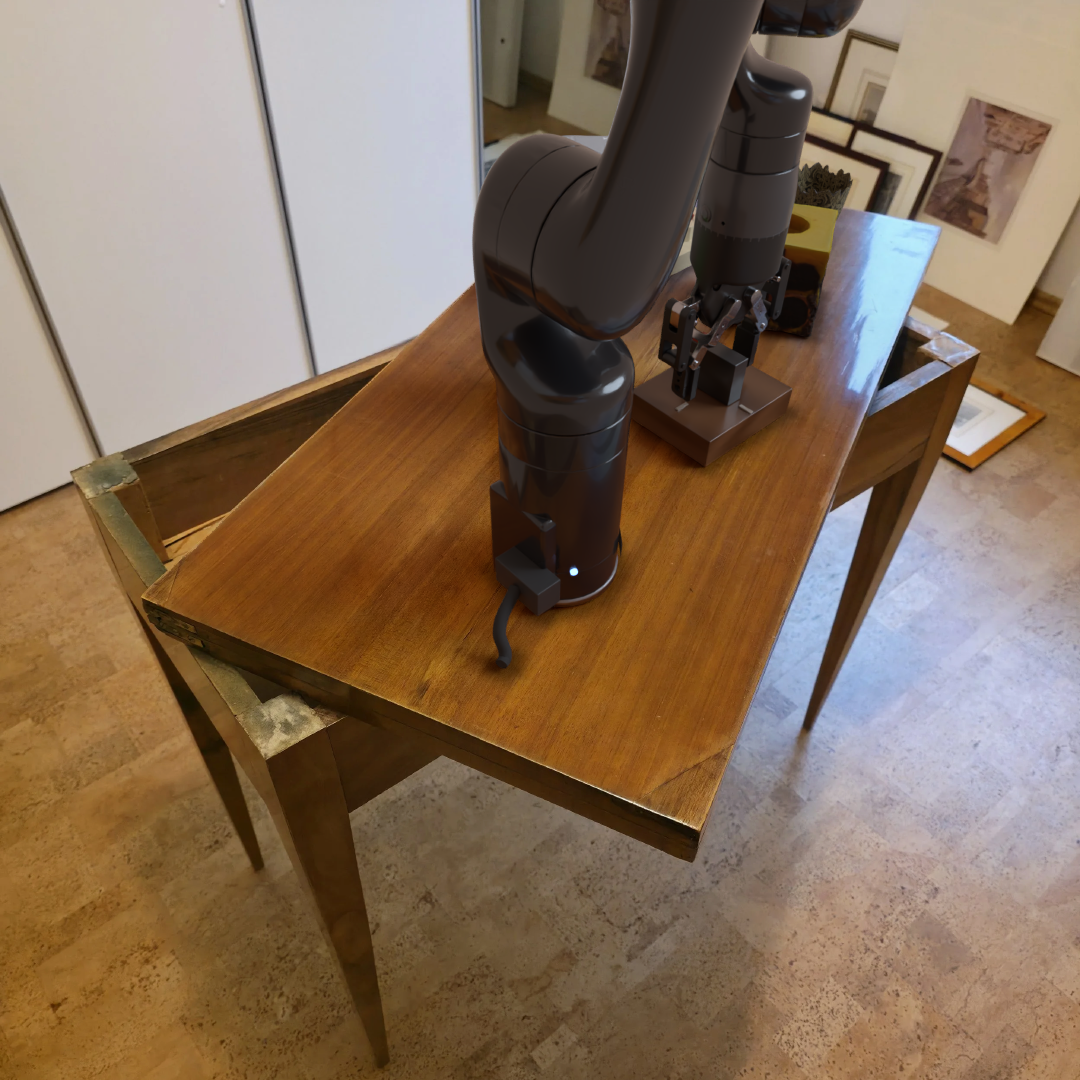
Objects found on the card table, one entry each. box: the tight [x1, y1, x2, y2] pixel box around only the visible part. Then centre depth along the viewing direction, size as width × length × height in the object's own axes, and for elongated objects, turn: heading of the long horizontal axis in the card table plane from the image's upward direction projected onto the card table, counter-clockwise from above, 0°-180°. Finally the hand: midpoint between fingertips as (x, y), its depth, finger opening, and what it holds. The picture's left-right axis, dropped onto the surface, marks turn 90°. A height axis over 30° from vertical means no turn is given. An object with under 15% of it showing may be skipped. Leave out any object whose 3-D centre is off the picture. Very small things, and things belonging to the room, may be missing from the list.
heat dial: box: [690, 331, 748, 406], centre depth 81 cm, size 6×2×5 cm, turn 41°
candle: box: [734, 204, 838, 338], centre depth 95 cm, size 10×10×10 cm
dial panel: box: [631, 364, 793, 468], centre depth 84 cm, size 12×10×3 cm
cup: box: [794, 161, 854, 222], centre depth 106 cm, size 8×7×8 cm
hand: (713, 378), depth 82 cm, fingers open, 7 cm apart
